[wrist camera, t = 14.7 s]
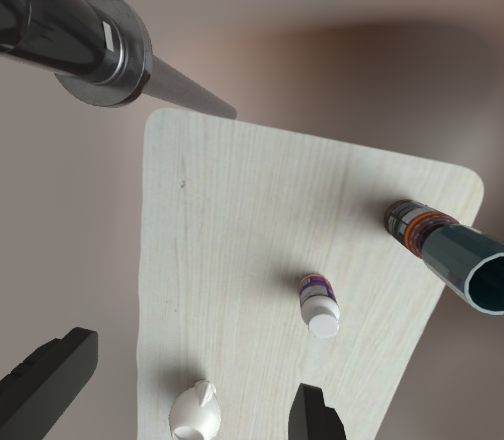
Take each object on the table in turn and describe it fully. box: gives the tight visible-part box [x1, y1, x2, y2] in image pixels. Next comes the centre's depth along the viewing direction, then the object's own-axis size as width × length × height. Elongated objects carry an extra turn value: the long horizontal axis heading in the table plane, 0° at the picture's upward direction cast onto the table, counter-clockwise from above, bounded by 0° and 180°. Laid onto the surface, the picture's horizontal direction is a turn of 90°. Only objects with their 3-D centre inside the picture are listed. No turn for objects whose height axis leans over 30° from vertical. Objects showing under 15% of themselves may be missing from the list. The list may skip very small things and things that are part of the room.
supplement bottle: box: [384, 200, 460, 259], centre depth 33 cm, size 6×6×11 cm
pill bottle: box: [299, 274, 339, 339], centre depth 39 cm, size 5×5×10 cm
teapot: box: [169, 380, 221, 440], centre depth 49 cm, size 10×20×9 cm, turn 160°
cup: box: [422, 224, 504, 315], centre depth 24 cm, size 6×6×7 cm
